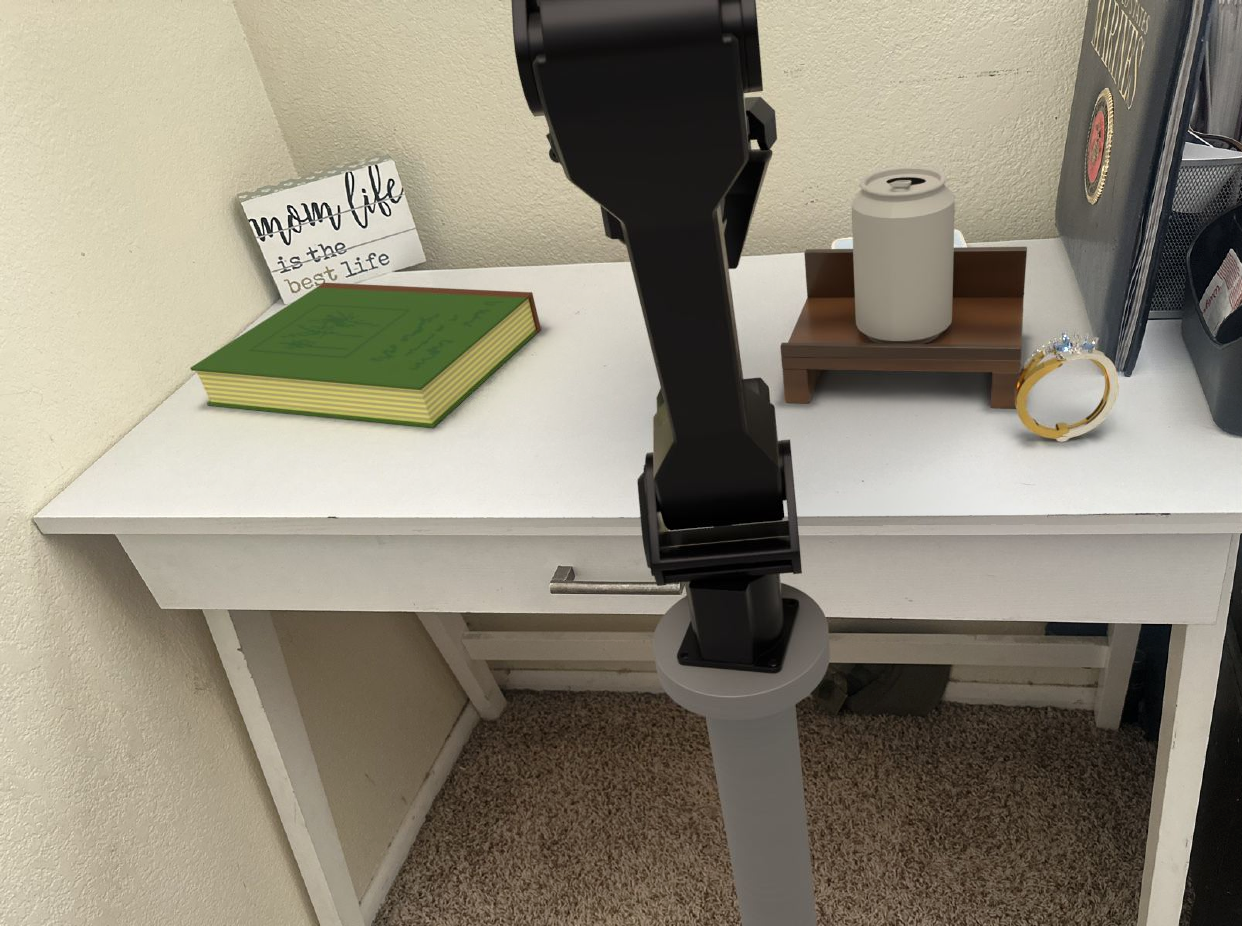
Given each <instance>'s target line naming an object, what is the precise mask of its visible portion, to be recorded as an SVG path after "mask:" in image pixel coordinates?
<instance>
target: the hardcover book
mask: <svg viewBox="0 0 1242 926" xmlns="http://www.w3.org/2000/svg"><path fill="white" fill-rule="evenodd" d="M540 323H541V322H540V319H539V314H538V311H537V307H536V301H535V298H534V293H533V292H532V291H512V290H511V291H509V290H491V289H490V290H489V289H472V288H471V289H469V288H448V287H447V288H446V287H426V286H402V285H385V284H383V285H382V284H362V283H361V284H360V283H343V282H341V283H340V282H323V283H321V284H319V285H318V286H317V287H315V288H313V289H312V290H310V291H309V292H307V293H306V294H304V295H302V296H301V297H299V298H297V299H296V300H293V302H291V303H289V304H288V305H287V306H285V307H284V308H281V309H280V310H278V311H277V312H276V313H274V314H272V315H271V316H269V317H268V318H266V319H264V320H263V321H261V322H260V323H258V324H257V325H255V326H254V327H252V328H250V329H249V330H247V331H246V332H244V333H242V334H241V335H239V336H238V337H236V338H234V339H233V340H232V341H230V342H228V343H227V344H225V345H224V346H222V347H221V348H219V349H217V350H216V351H214V352H213V353H211V354H210V355H208V356H206V357H205V358H203V359H202V360H200V361H198V362H197V363H195V364H194V365H192V366H191V367H190V368H189V369H190V371H192V372H196V374H197V376H198V378H199V381H200V383H201V384H202V386H203V388H204V391H205V393H206V396H207V397H208V399H209V401H207V402H206V405H207V406H210V407H218V408H229V409H239V410H249V411H250V410H251V411H259V412H260V411H261V412H271V413H278V414H280V413H281V414H290V415H299V416H308V417H309V416H310V417H321V418H330V419H339V420H349V421H361V422H369V423H379V424H389V425H398V426H400V425H401V426H408V427H409V426H410V427H419V428H430V429H434V428H435V427H436V426H438V424H439V423H441V422H442V421H443V420H444V419H446V417H448V416H449V414H450V413H452V411H454V410H455V409H456V408H457V407H458V406H459V405H461V403H463V402H464V401H465V400H466V399H467V398H468V397H469V396H470V395H472V393H473V392H474V391H476V390H477V389H478V388H479V387H481V385H482V384H483V383H485V382H486V381H487V379H489V378H490V377H491V376H493V374H494V373H495V372H496V371H497V370H499V369H500V368H501V367H502V366H503V365H504V364H505V363H507V361H508V360H510V359H511V358H512V357H513V356H514V355H515V354H516V353H517V352H518V351H519V350H520V349H521V348H523V346H524V345H526V344H527V343H528V342H529V341H530V340H531V339H533V337H535V336H536V335H537V334H538V333H539V332H540V331H541V330H542V327H541V324H540Z"/></svg>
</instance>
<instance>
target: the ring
mask: <svg viewBox="0 0 1242 926" xmlns="http://www.w3.org/2000/svg"><path fill="white" fill-rule="evenodd" d="M1089 337H1090V334H1089V333H1085V334H1084V336H1083V335H1081V334H1080V331H1078V330H1075V332H1074V334H1073V335H1070V334H1068V330H1063V329H1062V331H1061V335H1059V336H1056V337H1054V338H1051V339H1050V340H1048V341H1046V342H1045V343H1044V344H1042V345H1041V346H1040V347H1038V348H1037V349H1036V350H1035V351H1034V352H1032V353H1031V354H1030V355H1029V357H1028V358H1027V359H1026V361H1025V362H1024V363H1023V366H1022V367H1021V368H1020V373H1019V376H1018V378H1017V381H1016V385H1015V391H1014V399H1015V405H1016V408H1015V409H1016V412H1017V416H1018V418H1019V420H1020V422H1021V423H1022V424H1023V426H1024V427H1025V428H1027V429H1028V430H1029V431H1030V432H1031V433H1033V434H1035V435H1037V436H1039V437H1042V438H1047V439H1054V440H1056V441H1057V442H1060V443H1063V442H1068V441H1069V439H1071V438H1075V437H1079V436H1081V435H1084V434H1086V433H1088V432H1090V431H1092V430H1093V429H1095V428H1096V427H1097V426H1099V425H1100V424H1101V423H1103V421H1104V420H1106V418H1107V417H1108V416H1109V414H1110V413H1111V411H1112V410H1113V408H1114V406H1115V405H1116V402H1117V400H1118V396H1119V392H1120V381H1119V375H1118V371H1117V369H1116V366H1115V364H1114V362H1113V361H1112V359H1111V357H1110V356H1109V355H1107V354H1106V353H1105V352H1102V351H1101V350H1099V349H1098V348H1097V345H1098V343H1099V340H1100V337H1097V336H1094V337H1093V339H1092V341H1091V343H1088V340H1089ZM1050 354H1051V355H1053V356H1055V357H1052V358H1050V359H1047V360H1045V361H1043V362H1041V361H1042V360H1044V359H1045V358H1046V357H1047V356H1048V355H1050ZM1083 359H1084V360H1090V361H1091V362H1093V363H1094V364H1095V365H1096V366H1097V367H1098V368H1099V369H1100V371H1101V373H1102V374H1103V378H1104V391H1103V395H1102V397H1101V400H1100V402H1099V403H1098V405H1097V407H1096V408H1095V409H1094V410H1093V411H1092V412H1091V413H1090V414H1089V415H1088V416H1087V417H1085V418H1084V419H1082V420H1080V421H1077V422H1075V423H1070V424H1067V423H1066V422H1058V423H1056V424H1055V425H1049V424H1046V423H1045V424H1044V423H1042V422H1040V421H1038V420H1036V419H1035V418H1034V417H1032V416H1031V415H1030V413H1029V412H1028V410H1027V398H1028V396H1029V394H1030V392H1031V390H1032V389H1033V387H1034V386H1036V384H1037V383H1038V382H1039V381H1040V380H1041V379H1043V378H1044V377H1045V376H1047V375H1048V374H1050V373H1052V372H1053V371H1055V370H1056V369H1058V368H1060V367H1063V364H1064V363H1065V362H1071V361H1076V360H1083ZM1040 362H1041V363H1040Z"/></svg>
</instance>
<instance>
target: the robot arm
mask: <svg viewBox="0 0 1242 926" xmlns="http://www.w3.org/2000/svg"><path fill="white" fill-rule="evenodd" d="M510 1H511V19H512V35H513V46H514V56H515V60H516V66H517V72H518V76H519V82H520V84H521V88H522V93H523V97H524V98H525V101H526V104H527V106H528V109H529V111H530V113H531V114H532V116H533V117H534V118H535V117H543V116H544V118H545V121H546V124H547V127H548V133H546V134H545V137H546V139H547V141H548V143H549V145H550V146H549V147H550V148H549V150H548V156H549V158H550V160H551V161H552V162H553V163H554V164H555V163H556V164H559V165H560V166H561V167H562V171H563V173H564V176H565V177H566V179H567V180H568V181H569V182H570V183H571V184H573V185H574V186H575V187H576V188H577V189H579V190H580V191H581V192H582V193H583V194H585V195H586V196H588V197H589V198H590V199H592V200H593V201H594V202H595V203H596V204H598V205H599V207H600V212H601V218H602V222H603V223H602V224H603V229H604V232H605V233H604V235H605V236H606V237H607V238H609V239H610V240H618V241H619V242H620V243H621V244H622V245H624V246H625V247H626V251H627V256H628V259H629V263H630V266H631V272H632V276H633V279H634V284H635V288H636V291H637V296H638V301H639V304H640V308H641V312H642V317H643V320H644V325H645V329H646V332H647V337H648V342H649V345H650V349H651V354H652V358H653V362H654V365H655V369H656V373H657V374H656V375H657V378H658V382H659V386H660V388H659V391H658V393H657V394H656V413H654V415H653V417H652V427H653V428H652V434H653V435H652V437H653V438H652V439H653V440H652V441H653V442H652V443H653V444H652V445H653V446H652V447H653V451H651V452H646V454H645V457H644V458H645V459H644V465H643V472H642V473H641V474H640V475H639V476H638V477H637V493H638V504H639V517H640V528H641V539H642V545H643V551H644V556H645V562H646V566H647V568H648V569H650V574H651V577H654V581H655V583H656V586H657V587H662V586H667V585H669V584H679V583H684V588H685V593H686V596H687V600H688V605H689V611H690V617H691V621H690V624H689V626H688V629H687V631H686V634H685V636H684V638H683V641H682V643H681V646H680V648H679V651H678V653H677V661H678V663H679V664H680V665H683V666H693V667H704V668H715V669H726V670H737V671H748V672H759V673H770V674H776V673H779V672H780V671H781V670H782V668H783V664H784V661H785V657H786V654H787V650H788V647H789V643H790V640H791V636H792V633H793V629H794V626H795V623H796V619H797V616H798V612H799V601H798V600H797V599H793V598H782V590H781V583H782V582H781V575H783V574H793V575H798V574H799V575H800V574H803V567H802V556H801V555H802V554H801V544H800V535H799V533H800V532H799V523H798V512H797V501H796V490H795V476H794V467H793V455H792V446H791V439H790V438H789V439H781V440H779V435H778V425H777V417H776V407H775V405H774V404H773V403H772V402H771V395H770V387H769V385H768V384H767V383H766V382H765V380H764V379H763V378H762V377H751V378H749V377H748V378H744V375H743V365H742V359H741V350H740V343H739V336H738V329H737V322H736V321H737V320H736V313H735V307H734V300H733V299H734V298H733V290H732V284H731V283H732V282H731V276H730V270H736V269H737V268H738V266H739V264H740V261H741V257H742V254H743V251H744V247H745V245H746V241H747V238H748V234H749V230H750V227H751V224H752V220H753V216H754V214H755V211H756V207H757V203H758V201H759V197H760V194H761V191H762V187H763V184H764V181H765V178H766V175H767V171H768V168H769V165H770V162H771V160H772V157H773V149H772V147H773V146H774V144H775V143H776V141H777V140H778V131H777V118H776V110H775V109H774V108H773V107H772V106H771V104H769V103H768V102H767V101H766V100H765V99H764V98H763V97H762V96H747V97H746V96H745V94H749V93H757V92H759V93H760V92H763V91H764V85H763V71H762V60H761V59H762V58H761V47H760V35H759V34H760V33H759V23H758V22H759V21H758V12H757V1H756V0H510ZM752 141H756V143H757V146H758V148H753V149H752ZM784 501H785V502H786V511H787V520H784V518H785V507H784V506H785V505H784ZM684 657H687V658H684ZM772 665H775V666H772Z"/></svg>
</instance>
